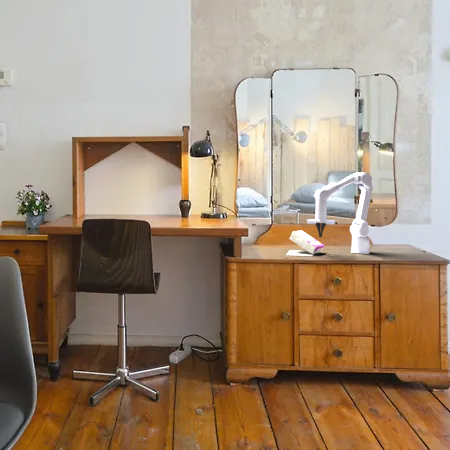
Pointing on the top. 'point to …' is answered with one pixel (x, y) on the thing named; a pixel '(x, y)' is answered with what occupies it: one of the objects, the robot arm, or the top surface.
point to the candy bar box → (306, 242)
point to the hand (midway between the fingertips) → (320, 237)
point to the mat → (299, 253)
